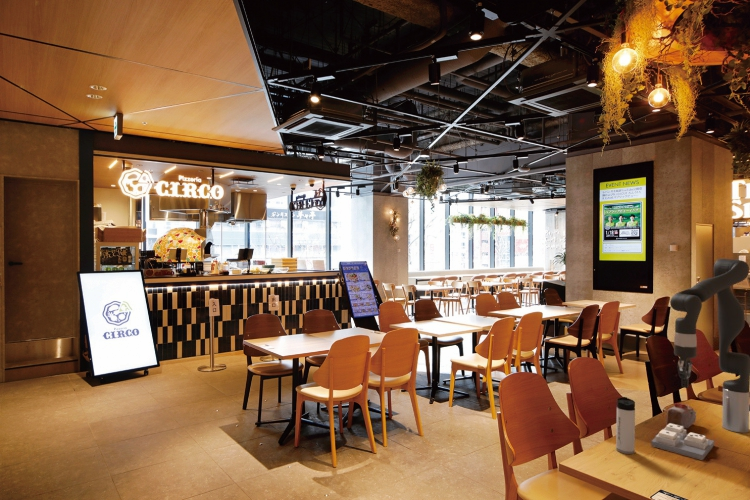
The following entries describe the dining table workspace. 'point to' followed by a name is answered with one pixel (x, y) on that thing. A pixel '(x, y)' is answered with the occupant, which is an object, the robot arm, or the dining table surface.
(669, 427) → the button two
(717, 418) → the dining table surface
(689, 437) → the button three
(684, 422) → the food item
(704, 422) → the dining table surface
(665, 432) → the button one
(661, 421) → the dining table surface
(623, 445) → the travel mug
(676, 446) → the button board
